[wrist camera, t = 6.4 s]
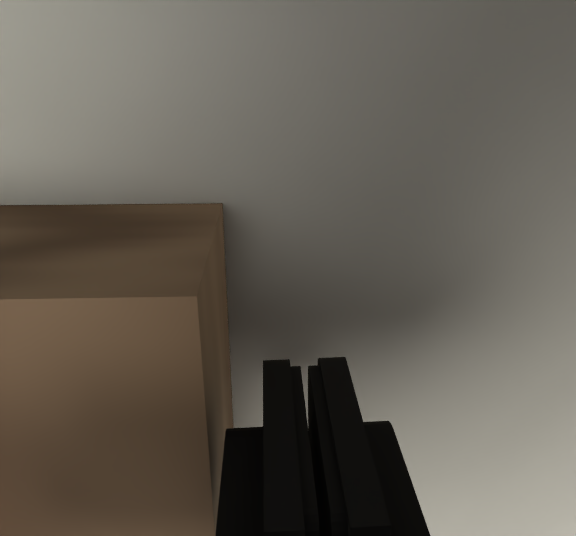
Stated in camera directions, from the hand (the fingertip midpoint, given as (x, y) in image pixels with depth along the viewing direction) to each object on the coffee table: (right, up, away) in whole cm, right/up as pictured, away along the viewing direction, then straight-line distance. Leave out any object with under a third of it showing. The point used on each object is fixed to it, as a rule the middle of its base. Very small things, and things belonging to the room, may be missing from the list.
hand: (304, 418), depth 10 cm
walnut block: (-6, +1, +3) cm, 7 cm away
